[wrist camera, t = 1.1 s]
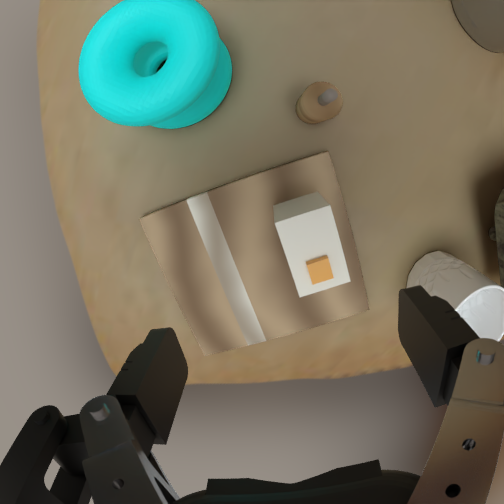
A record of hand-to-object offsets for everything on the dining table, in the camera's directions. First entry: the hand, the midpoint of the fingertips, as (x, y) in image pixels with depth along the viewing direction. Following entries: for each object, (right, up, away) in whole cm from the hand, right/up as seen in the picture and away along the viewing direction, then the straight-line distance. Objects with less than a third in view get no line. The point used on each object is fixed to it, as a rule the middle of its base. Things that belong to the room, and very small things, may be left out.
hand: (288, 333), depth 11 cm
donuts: (-8, +19, +15) cm, 25 cm away
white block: (+4, +5, +17) cm, 18 cm away
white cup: (+18, 0, +20) cm, 27 cm away
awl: (+4, +15, +15) cm, 22 cm away
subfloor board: (0, +2, +20) cm, 20 cm away
